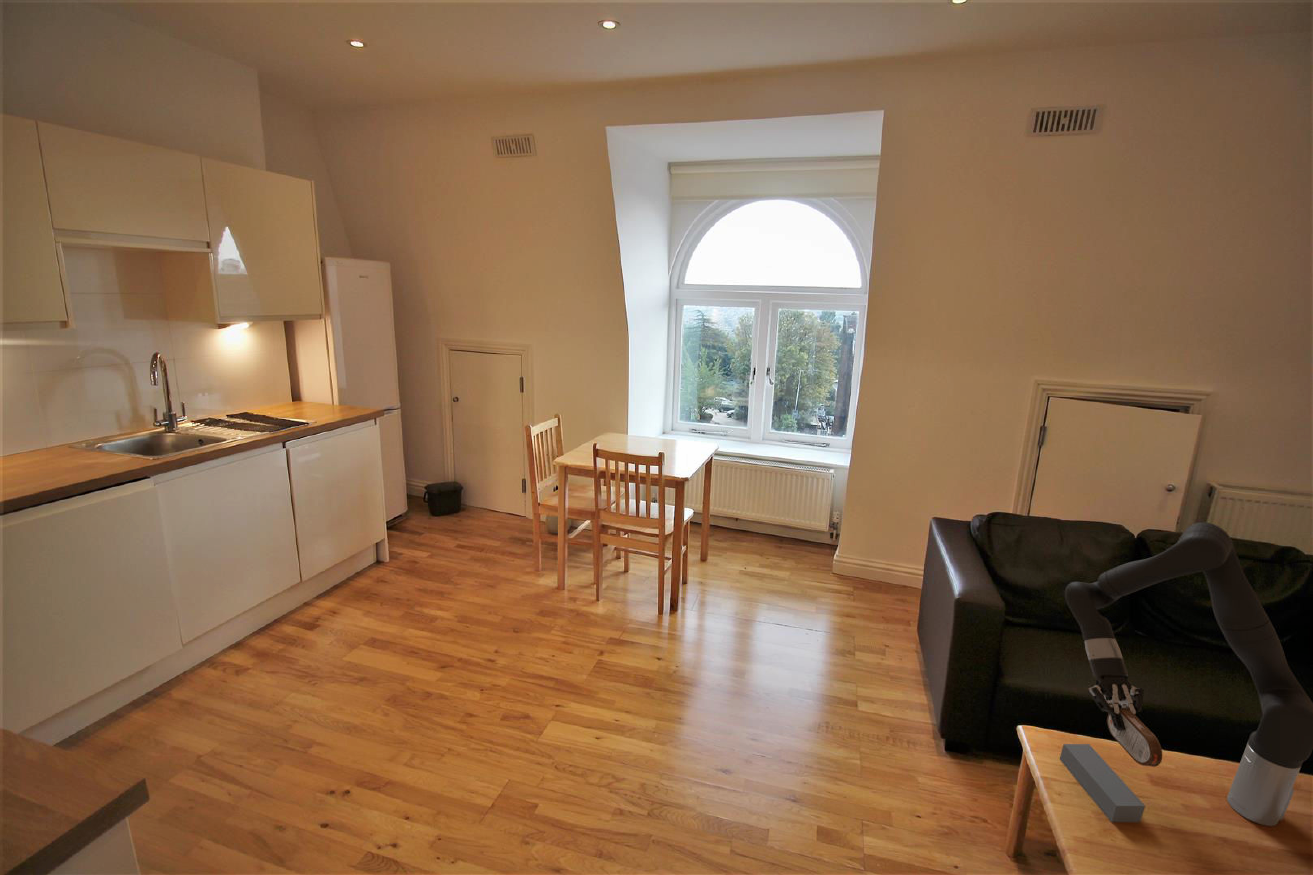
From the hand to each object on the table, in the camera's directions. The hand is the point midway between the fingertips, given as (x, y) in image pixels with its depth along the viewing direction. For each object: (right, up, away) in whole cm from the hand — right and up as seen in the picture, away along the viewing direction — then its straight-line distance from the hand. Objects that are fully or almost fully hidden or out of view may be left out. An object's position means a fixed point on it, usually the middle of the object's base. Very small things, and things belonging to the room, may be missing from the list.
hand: (1127, 730), depth 153 cm
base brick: (-6, -16, +2) cm, 17 cm away
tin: (-1, -5, 0) cm, 5 cm away
